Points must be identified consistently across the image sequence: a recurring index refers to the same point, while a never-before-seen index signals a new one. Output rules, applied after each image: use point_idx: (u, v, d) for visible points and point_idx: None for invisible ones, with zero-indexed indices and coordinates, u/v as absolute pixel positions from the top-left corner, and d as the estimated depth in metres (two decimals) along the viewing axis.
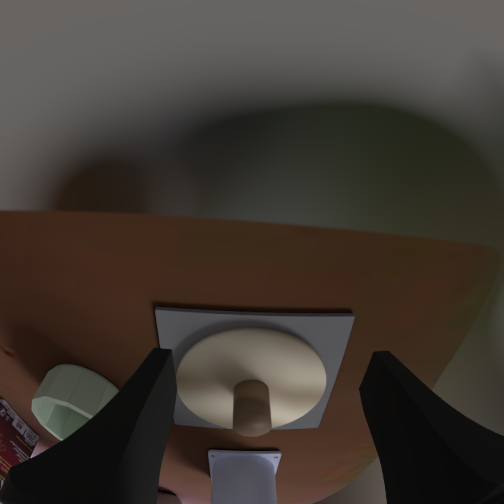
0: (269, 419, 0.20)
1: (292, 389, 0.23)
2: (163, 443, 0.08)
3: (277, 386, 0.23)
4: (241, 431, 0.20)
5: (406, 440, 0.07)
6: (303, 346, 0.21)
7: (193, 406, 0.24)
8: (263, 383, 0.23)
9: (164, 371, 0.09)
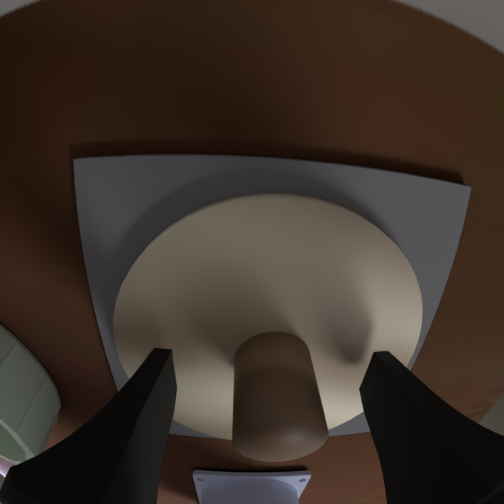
0: (324, 420, 0.08)
1: (356, 354, 0.11)
2: (163, 443, 0.08)
3: (328, 348, 0.11)
4: (252, 452, 0.08)
5: (406, 440, 0.07)
6: (391, 240, 0.09)
7: None
8: (300, 341, 0.11)
9: (164, 371, 0.09)
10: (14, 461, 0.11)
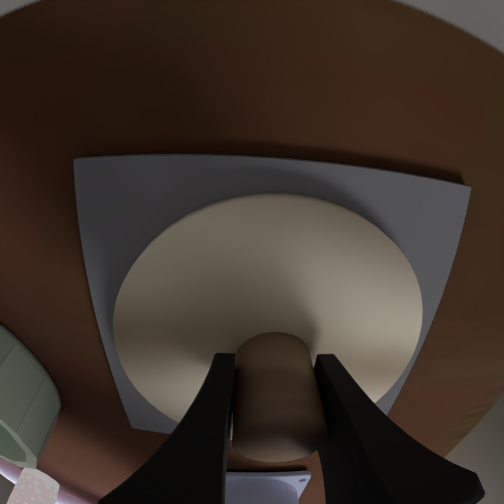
0: (324, 421, 0.08)
1: (356, 355, 0.11)
2: (228, 449, 0.08)
3: (328, 348, 0.11)
4: (252, 453, 0.08)
5: (340, 451, 0.07)
6: None
7: (155, 395, 0.12)
8: (300, 341, 0.11)
9: (234, 376, 0.09)
10: (14, 461, 0.11)
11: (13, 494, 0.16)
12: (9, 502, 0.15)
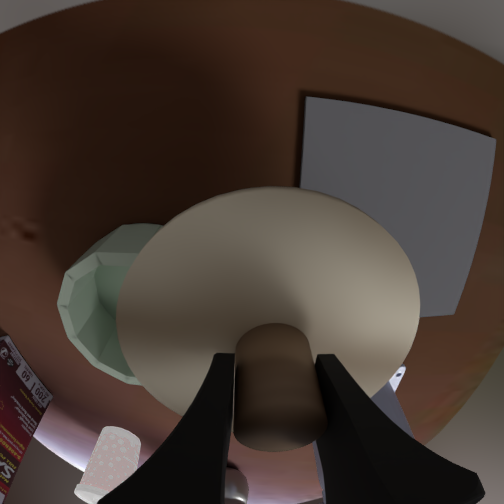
0: (324, 410, 0.08)
1: (355, 348, 0.11)
2: (227, 449, 0.08)
3: (327, 341, 0.11)
4: (252, 442, 0.08)
5: (340, 451, 0.07)
6: (391, 236, 0.10)
7: (155, 385, 0.12)
8: (300, 333, 0.11)
9: (233, 376, 0.09)
10: None
11: (94, 458, 0.22)
12: (90, 467, 0.21)
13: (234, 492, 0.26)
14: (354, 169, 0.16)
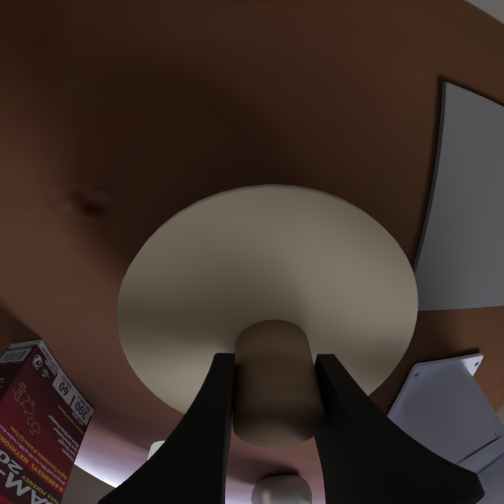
0: (322, 406, 0.08)
1: (353, 346, 0.12)
2: (228, 449, 0.08)
3: (326, 338, 0.11)
4: (251, 436, 0.08)
5: (340, 451, 0.07)
6: (390, 235, 0.10)
7: (153, 380, 0.12)
8: (299, 330, 0.11)
9: (234, 376, 0.09)
10: None
11: None
12: None
13: (302, 500, 0.23)
14: (478, 158, 0.14)
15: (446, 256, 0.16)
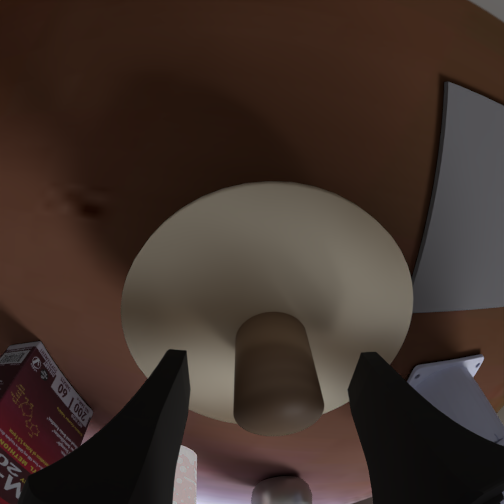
0: (320, 393, 0.09)
1: (350, 339, 0.12)
2: (178, 445, 0.08)
3: (324, 330, 0.12)
4: (252, 424, 0.09)
5: (392, 443, 0.07)
6: (385, 230, 0.10)
7: None
8: (298, 322, 0.12)
9: (180, 373, 0.09)
10: None
11: None
12: None
13: (302, 502, 0.23)
14: (480, 159, 0.14)
15: (448, 257, 0.16)
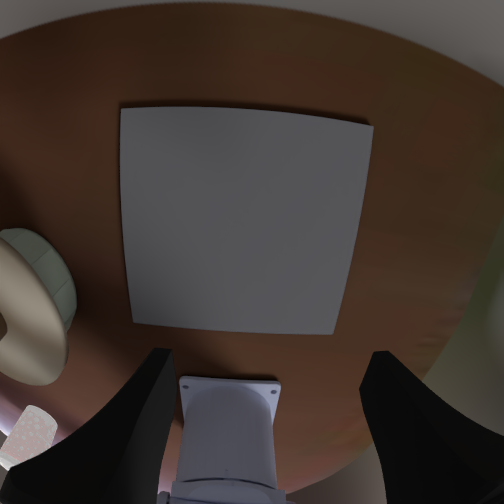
0: None
1: (25, 326, 0.15)
2: (163, 443, 0.08)
3: (10, 317, 0.14)
4: None
5: (406, 440, 0.07)
6: (9, 255, 0.13)
7: None
8: None
9: (164, 371, 0.09)
10: None
11: (13, 431, 0.22)
12: (8, 438, 0.21)
13: None
14: (170, 175, 0.16)
15: (157, 275, 0.19)
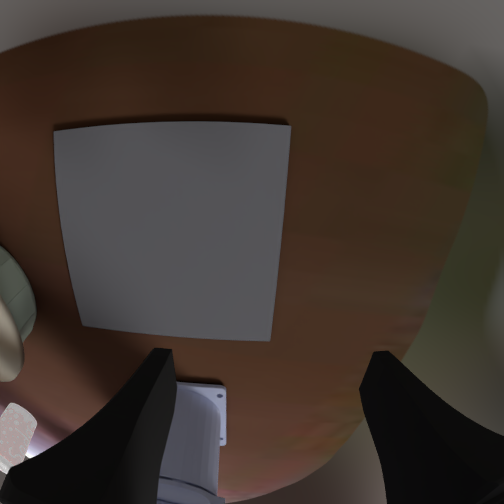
0: None
1: None
2: (163, 443, 0.08)
3: None
4: None
5: (406, 440, 0.07)
6: None
7: None
8: None
9: (164, 371, 0.09)
10: None
11: None
12: None
13: None
14: (97, 190, 0.17)
15: (96, 282, 0.19)
